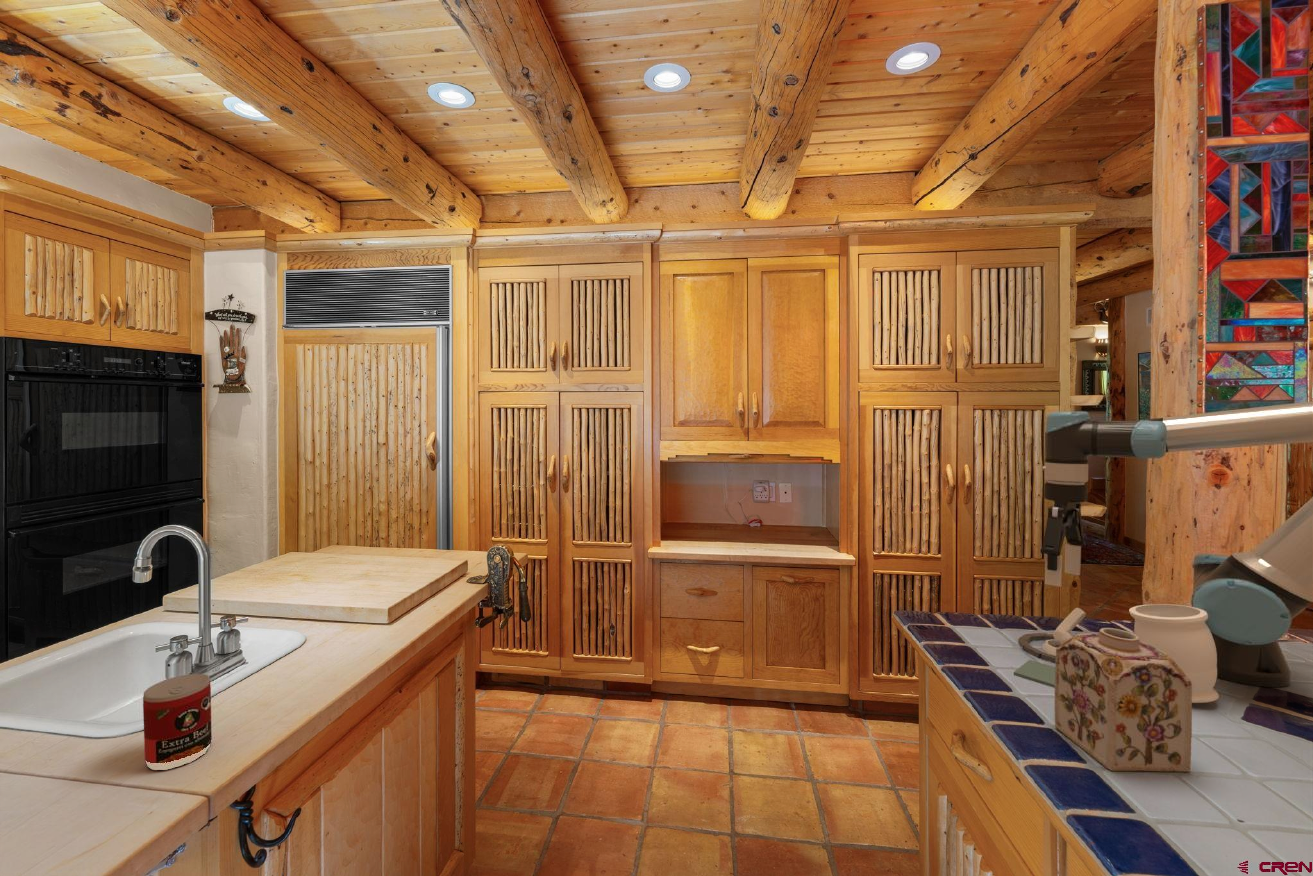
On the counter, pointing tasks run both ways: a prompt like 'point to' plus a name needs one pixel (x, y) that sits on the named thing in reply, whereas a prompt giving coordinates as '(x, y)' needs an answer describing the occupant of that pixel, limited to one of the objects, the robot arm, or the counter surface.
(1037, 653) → the metal ring
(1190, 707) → the decorative jar
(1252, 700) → the counter surface
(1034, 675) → the rubber mat
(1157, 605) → the jar
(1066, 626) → the hook
